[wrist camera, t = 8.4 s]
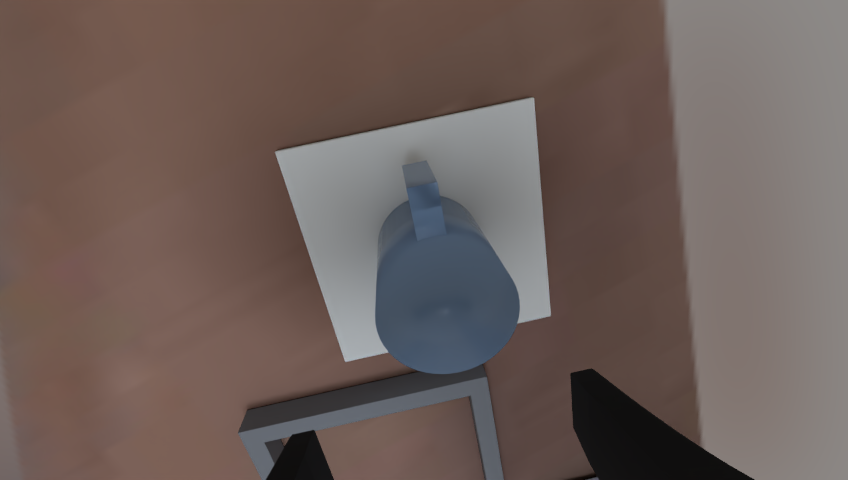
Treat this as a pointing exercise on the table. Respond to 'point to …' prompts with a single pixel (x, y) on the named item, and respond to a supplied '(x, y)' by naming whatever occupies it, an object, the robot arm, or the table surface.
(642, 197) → the table surface
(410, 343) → the blue-grey mug
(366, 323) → the mat
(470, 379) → the grey square frame
